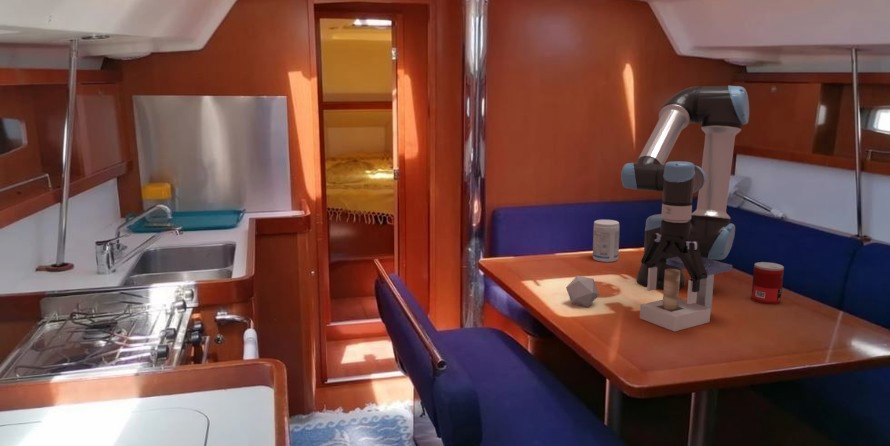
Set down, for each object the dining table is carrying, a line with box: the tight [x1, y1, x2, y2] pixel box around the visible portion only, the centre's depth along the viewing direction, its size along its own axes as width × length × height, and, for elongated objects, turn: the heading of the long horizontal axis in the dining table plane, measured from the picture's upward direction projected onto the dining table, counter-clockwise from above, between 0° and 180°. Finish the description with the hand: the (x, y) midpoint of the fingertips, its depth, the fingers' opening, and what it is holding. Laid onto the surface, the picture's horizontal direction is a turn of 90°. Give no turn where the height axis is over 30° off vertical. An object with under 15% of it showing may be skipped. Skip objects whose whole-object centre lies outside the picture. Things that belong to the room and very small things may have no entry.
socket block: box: [639, 297, 712, 332], centre depth 176 cm, size 12×14×4 cm
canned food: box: [751, 261, 785, 305], centre depth 192 cm, size 8×8×11 cm
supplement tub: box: [592, 219, 620, 263], centre depth 241 cm, size 10×10×15 cm
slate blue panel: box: [666, 256, 733, 315], centre depth 179 cm, size 14×10×16 cm
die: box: [565, 275, 600, 308], centre depth 190 cm, size 8×9×10 cm
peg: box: [662, 269, 680, 312], centre depth 174 cm, size 4×4×14 cm
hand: (670, 296), depth 174 cm, fingers open, 13 cm apart
